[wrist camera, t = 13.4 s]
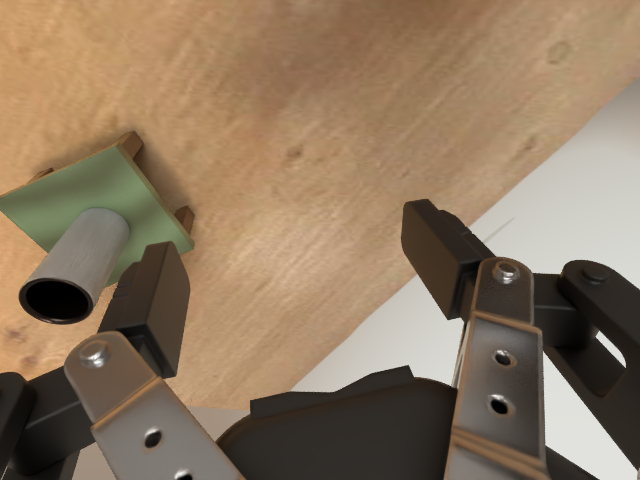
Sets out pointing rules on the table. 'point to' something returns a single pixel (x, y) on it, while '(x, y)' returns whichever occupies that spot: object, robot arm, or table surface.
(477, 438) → the robot arm
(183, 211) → the plant stand
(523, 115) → the table surface
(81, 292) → the grey hollow tube
